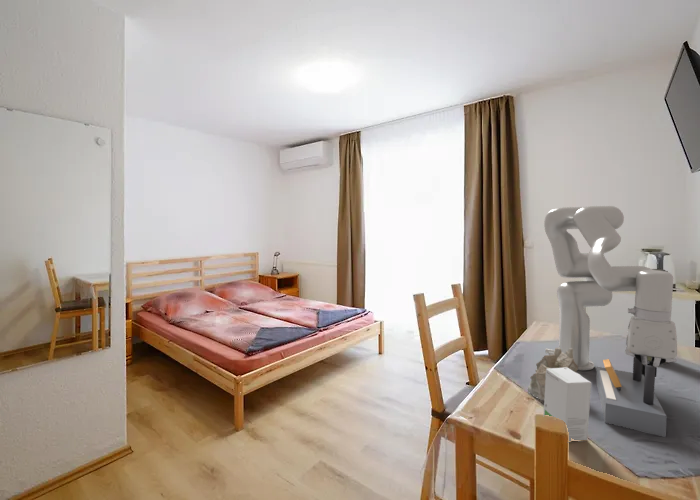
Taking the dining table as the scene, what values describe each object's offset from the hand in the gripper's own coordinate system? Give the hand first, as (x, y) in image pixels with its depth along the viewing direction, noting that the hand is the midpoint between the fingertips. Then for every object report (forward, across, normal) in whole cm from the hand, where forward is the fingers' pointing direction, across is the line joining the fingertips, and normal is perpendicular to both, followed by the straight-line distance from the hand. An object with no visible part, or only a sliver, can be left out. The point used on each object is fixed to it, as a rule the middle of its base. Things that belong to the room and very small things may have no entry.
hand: (648, 377), depth 93 cm
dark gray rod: (+4, -1, -8) cm, 9 cm away
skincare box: (+10, -20, -24) cm, 32 cm away
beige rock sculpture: (+10, -24, 0) cm, 26 cm away
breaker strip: (+10, -5, -1) cm, 11 cm away
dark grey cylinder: (+4, -1, +7) cm, 8 cm away
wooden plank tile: (+4, -7, 0) cm, 8 cm away
